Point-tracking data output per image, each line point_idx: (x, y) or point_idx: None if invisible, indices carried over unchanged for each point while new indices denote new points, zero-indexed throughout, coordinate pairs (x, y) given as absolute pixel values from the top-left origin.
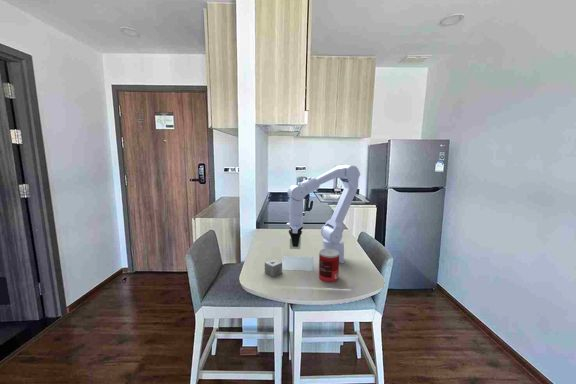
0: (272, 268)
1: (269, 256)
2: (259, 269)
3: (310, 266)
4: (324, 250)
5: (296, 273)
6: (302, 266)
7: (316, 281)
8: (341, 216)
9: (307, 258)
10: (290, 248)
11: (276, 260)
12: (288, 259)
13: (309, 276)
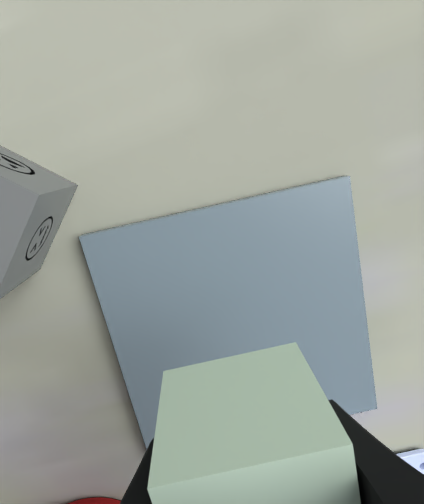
0: None
1: (341, 37)
2: (38, 54)
3: None
4: None
5: (91, 359)
6: None
7: (35, 491)
8: None
9: (345, 378)
10: (166, 381)
11: (17, 234)
12: (290, 245)
13: (82, 443)
